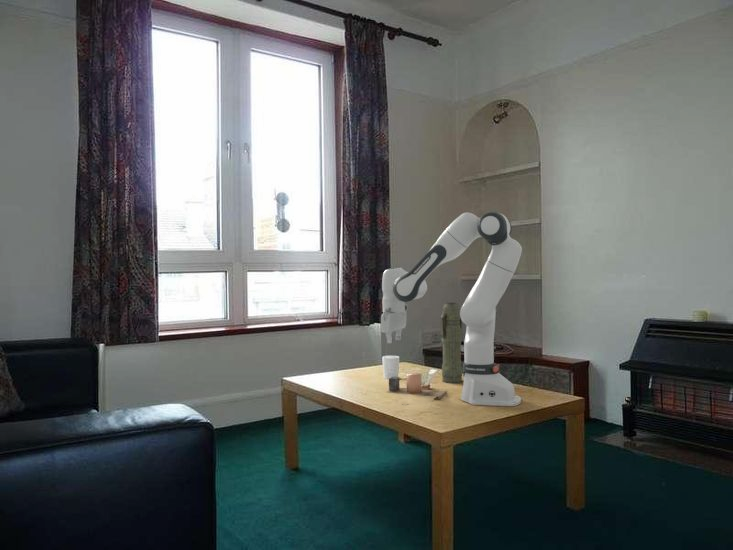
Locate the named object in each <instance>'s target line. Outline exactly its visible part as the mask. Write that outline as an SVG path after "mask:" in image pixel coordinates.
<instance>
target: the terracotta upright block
mask: <svg viewBox="0 0 733 550" xmlns="http://www.w3.org/2000/svg"><path fill="white" fill-rule="evenodd" d="M422 374H423V373H421V372H408V373H406V388H407V392H408V393H420V392H422V389H423V386H422V385H423V384H422V383H423V381H422V376H423V375H422Z"/></svg>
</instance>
